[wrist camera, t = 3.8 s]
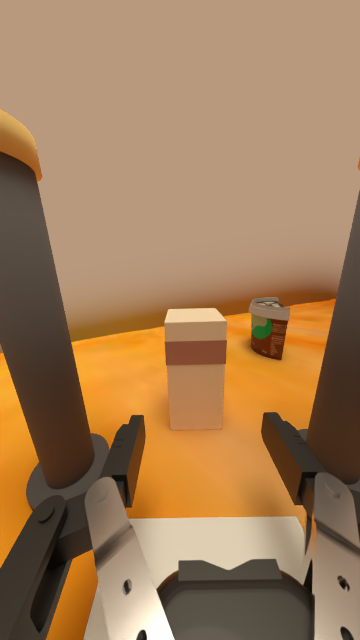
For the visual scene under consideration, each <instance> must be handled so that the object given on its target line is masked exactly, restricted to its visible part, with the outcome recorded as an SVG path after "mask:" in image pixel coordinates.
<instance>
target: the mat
mask: <svg viewBox="0 0 360 640" xmlns="http://www.w3.org/2000/svg"><path fill="white" fill-rule="evenodd" d="M129 521H130V524H131V525H132V526H133V528H134V531H135V533H136V536H137V539H138V541H139V544H140V547H141V550H142V552H143V555H144V558H145V561H146V563H147V566H148V569H149V572H150V574H151V577H152V580H153V583H154V585H155V588H156V589H157V588H158V586H159V585H160V584H161V583H162V582H163V581H164V580H165V579H166V578H167V577H168V576H169V575H171V574H172V573H173V572H175V571H177V570H178V560H204V561H206V562H209V563H211V564H214V565H216V566H219V567H221V568H224V569H227V570H231V569H233V568H235V567H237V566H239V565H241V564H243V563H245V562H247V561H249V560H251V559H276V561H277V564H278V567H279V570H282V571H284V572H286V573H287V574H289V575H291V576H292V577H293V578H295V579H296V580H298V581H299V582H300V577H301V570H302V563H303V549H304V531H303V529H302V527H301V525H300V523H299V521H298V518H297V516H288V517H215V518H142V519H129ZM83 640H109V636H108V631H107V626H106V620H105V615H104V609H103V604H102V599H101V593H100V588H99V582H98V585H97V589H96V593H95V597H94V601H93V604H92V608H91V612H90V616H89V619H88V623H87V627H86V631H85V635H84V638H83Z"/></svg>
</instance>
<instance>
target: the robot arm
mask: <svg viewBox="0 0 360 640" xmlns="http://www.w3.org/2000/svg"><path fill="white" fill-rule="evenodd" d="M261 433H262V438H263V441H264V443H265V445H266V447H267V449H268V451H269V453H270V456H271V458H272V460H273V462H274V464H275V466H276V468H277V470H278V472H279V474H280V476H281V478H282V480H283V482H284V484H285V486H286V488H287V490H288V492H289V495H290V497H291V499H292V501H293V503H294V505H303V507H304V508H305V510H306V516H305V532H304V549H303V563H302V570H301V577H300V582H299V581H298V580H296V579H295V578H293V577H292V576H291V575H289V574H287V573H286V572H284V571H282V570H279V567H278V564H277V561H276V559H251V560H249V561H247V562H245V563H243V564H241V565H239V566H237V567H235V568H233V569H231V570H227V569H224V568H221V567H219V566H216V565H214V564H211V563H209V562H206V561H204V560H178V570H177V571H175V572H173V573H172V574H171V575H169V576H168V577H167V578H166V579H165V580H164V581H163V582H162V583H161V584H160V585H159V586H158V588H157V589H156V588H155V585H154V583H153V580H152V577H151V574H150V572H149V569H148V566H147V563H146V561H145V558H144V555H143V552H142V550H141V547H140V544H139V541H138V539H137V536H136V533H135V531H134V528H133V526H132V525H131V524H130V521H129V519H128V516H127V513H126V510H125V509H126V507H132V504H133V499H134V494H135V489H136V484H137V479H138V474H139V469H140V464H141V459H142V454H143V449H144V444H145V425H144V416H143V415H132V416H131V418H130V421H129V424H123V425H122V426H121V427H120V429H119V430H118V431H117V433H116V435H115V438H114V441H113V443H112V446H111V448H110V451H109V453H108V456H107V459H106V461H105V464H104V466H103V469H102V472H101V474H100V476H99V478H98V480H97V481H96V482H95V483H94V484H92V486H91V487H90V488H89V490H88V491H86V492H85V493H83V494H81V495H78V496H75V497H73V498H70V499H68V500H65V499H64V498H63V497H62V496H61V495H53V496H51V497H49V498H47V499H45V500H44V501H42V502H41V503H40V504H39V505H38V506H37V507H36V508H35V509H34V511H33V512H32V514H31V515H30V517H29V519H28V520H27V522H26V524H25V526H24V528H23V529H22V531H21V533H20V535H19V536H18V538H17V540H16V542H15V543H14V545H13V547H12V549H11V551H10V552H9V554H8V556H7V558H6V559H5V561H4V563H3V565H2V567H1V568H0V640H46V637H47V634H48V631H49V628H50V625H51V622H52V619H53V616H54V613H55V610H56V607H57V604H58V601H59V598H60V595H61V592H62V589H63V586H64V583H65V580H66V577H67V574H68V571H69V568H70V565H71V562H72V559H73V558H75V557H77V556H79V555H81V554H83V553H85V552H87V551H89V550H91V549H93V551H94V557H95V566H96V572H97V577H98V582H99V588H100V593H101V599H102V604H103V609H104V615H105V620H106V626H107V631H108V636H109V640H360V492H358V491H355V490H352V489H349V488H347V486H346V485H345V484H344V483H343V482H342V481H340V480H339V479H338V478H336V477H335V476H333V475H331V474H329V473H328V472H327V471H326V470H325V468H324V467H323V466H322V464H321V463H320V461H319V460H318V459H317V457H316V456H315V455H314V453H313V452H312V450H311V449H310V448H309V446H308V445H307V444H306V442H305V441H304V439H303V438H301V435H300V434H299V433H298V431H297V430H296V428H295V427H293V426H292V425H291V424H290V423H289V422H287V421H283V420H282V419H281V417H280V416H279V414H278V413H276V412H267V413H264V414H263V421H262V429H261Z"/></svg>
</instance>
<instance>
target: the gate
mask: <svg viewBox="0 0 360 640" xmlns="http://www.w3.org/2000/svg"><path fill="white" fill-rule="evenodd" d="M358 169H359V170H360V159H359V164H358ZM41 178H42V174H41V169H40V164H39V159H38V155H37V149H36V145H35V140H34V138H33V136H32V134H31V133H30V132H29V130H28V129H27V128H26V127H25V126H24V125H23V124H21V123H20V122H19V121H18V120H16V119H15V118H14V117H12V116H11V115H9V114H8V113H6V112H5V111H3V110H1V109H0V344H1V347H2V350H3V353H4V356H5V359H6V362H7V365H8V368H9V371H10V374H11V377H12V380H13V383H14V386H15V389H16V392H17V395H18V398H19V401H20V404H21V407H22V410H23V413H24V416H25V419H26V422H27V426H28V429H29V432H30V435H31V438H32V441H33V444H34V447H35V450H36V453H37V456H38V459H39V463H38V464H37V466H36V467H35V469H34V470H33V472H32V474H31V476H30V478H29V481H28V484H27V489H26V495H27V499H28V502H29V505H30V507H31V509H32V510H33V511H34V509H35V508H36V507H37V506H38V505H39V504H40V503H41V502H42V501H44V500H45V499H47V498H49V497H51V496H53V495H61V496H62V497H63V498H64V499H65V500H68V499H70V498H73V497H75V496H78V495H81V494H83V493H85V492H86V491H88V490H89V488H90V487H91V486H92V484H94V483H95V482H96V481H97V480H98V478H99V476H100V474H101V472H102V469H103V466H104V464H105V461H106V459H107V456H108V453H109V447H108V443H107V441H106V440H105V439H104V438H103V437H102V436H100V435H98V434H93V433H90V429H89V425H88V420H87V415H86V411H85V406H84V401H83V396H82V392H81V387H80V382H79V378H78V373H77V368H76V363H75V359H74V354H73V349H72V344H71V340H70V335H69V330H68V326H67V321H66V316H65V311H64V307H63V302H62V297H61V293H60V288H59V283H58V279H57V274H56V269H55V264H54V260H53V255H52V250H51V245H50V241H49V236H48V231H47V226H46V222H45V217H44V212H43V207H42V203H41V198H40V193H39V189H38V184H37V182H38V181H40V180H41ZM298 433H299V434H300V435H301V438H303V439H304V441H305V442H306V444H307V445H308V446H309V448H310V449H311V450H312V452H313V453H314V455H315V456H316V457H317V459H318V460H319V461H320V463H321V464H322V466H323V467H324V468H325V470H326V471H327V472H328V473H329V474H331V475H333V476H335V477H336V478H338V479H339V480H340V481H342V482H343V483H344V484H345V485H346V486H347V488H349V489H352V490H355V491H358V492H360V191H359V196H358V200H357V205H356V209H355V214H354V219H353V223H352V228H351V233H350V238H349V242H348V247H347V251H346V256H345V260H344V265H343V270H342V274H341V279H340V284H339V288H338V293H337V298H336V302H335V307H334V311H333V316H332V321H331V325H330V330H329V335H328V339H327V344H326V349H325V353H324V358H323V363H322V367H321V372H320V376H319V381H318V386H317V390H316V395H315V400H314V404H313V409H312V414H311V418H310V423H309V428H308V429H302V430H298Z"/></svg>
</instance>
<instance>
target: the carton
mask: <svg viewBox="0 0 360 640" xmlns="http://www.w3.org/2000/svg"><path fill="white" fill-rule="evenodd" d="M226 330H227V321H226V320H225V318H224V317H223V316H222V315H221V314H220V313H219V312H218V311H217V310H216V309H215V308H203V309H202V308H200V309H169V310H168V313H167V316H166V319H165V353H166V365H167V378H168V397H169V415H170V430H208V429H222V416H223V395H224V373H225V364H226V345H227V340H226Z"/></svg>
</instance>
